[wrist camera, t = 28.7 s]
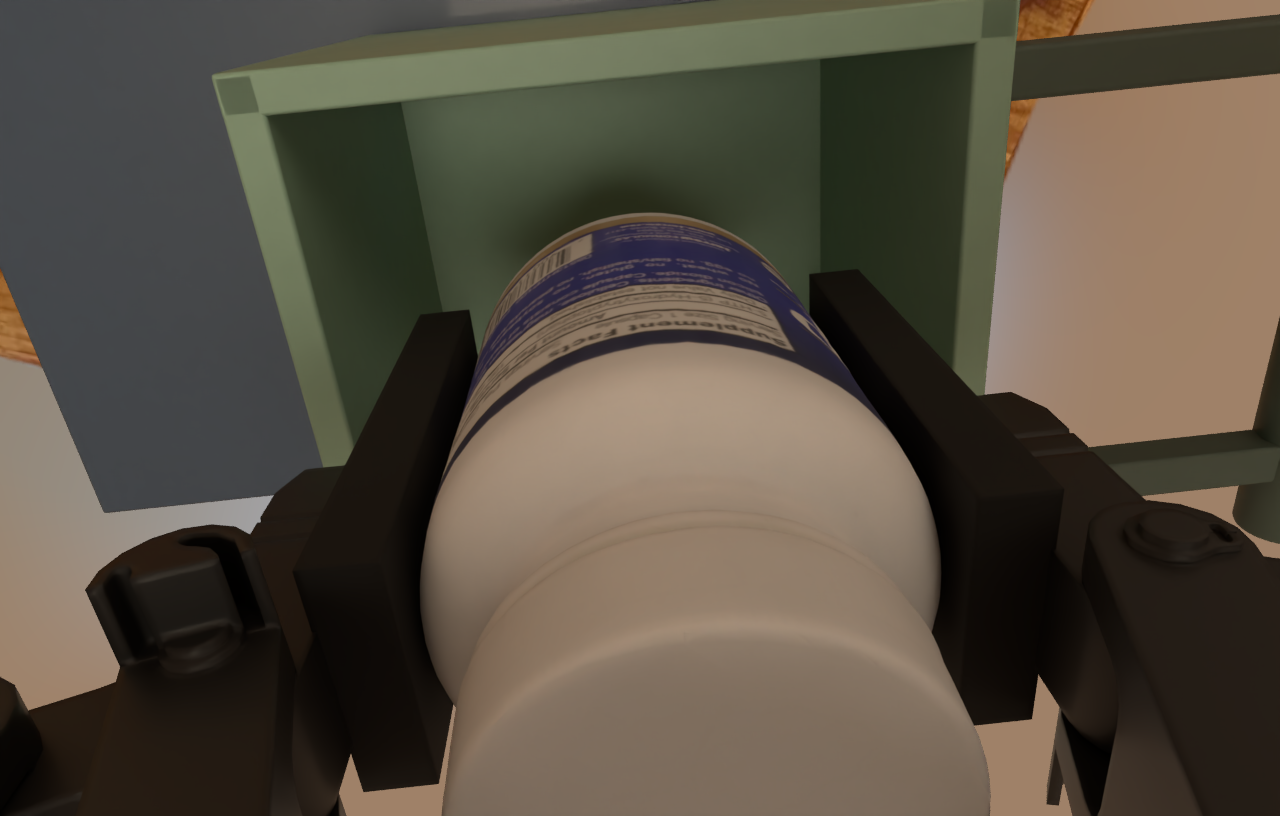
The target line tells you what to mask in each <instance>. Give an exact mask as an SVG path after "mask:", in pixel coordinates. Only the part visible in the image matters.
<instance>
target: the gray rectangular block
mask: <svg viewBox="0 0 1280 816" xmlns="http://www.w3.org/2000/svg"><path fill="white" fill-rule="evenodd" d="M702 1H711V0H0V269H1V271H2V273H3V276H4V278H5V280H6V283H7V285H8V287H9V290H10V292H11V295H12V297H13V299H14V302H15V304H16V306H17V309H18V311H19V313H20V316H21V318H22V320H23V323H24V325H25V328H26V330H27V332H28V335H29V337H30V339H31V342H32V344H33V346H34V349H35V351H36V354H37V356H38V358H39V361H40V363H41V365H42V368H43V370H44V372H45V375H46V377H47V379H48V382H49V384H50V386H51V389H52V391H53V394H54V396H55V398H56V401H57V403H58V405H59V408H60V410H61V412H62V415H63V417H64V419H65V422H66V424H67V427H68V429H69V431H70V434H71V436H72V438H73V441H74V443H75V445H76V448H77V450H78V453H79V455H80V457H81V460H82V462H83V464H84V467H85V469H86V472H87V474H88V476H89V479H90V481H91V483H92V486H93V488H94V490H95V493H96V495H97V497H98V500H99V502H100V505H101V507H102V509H103V511H104V512H105V513H110V512H120V511H129V510H137V509H146V508H147V509H148V508H157V507H167V506H176V505H185V504H195V503H204V502H214V501H223V500H232V499H242V498H251V497H261V496H270V495H275V493H276V492H277V491H278V490H280V489H281V488H282V487H283V486H285V485H286V484H287V483H289V482H290V481H291V480H292V479H294V478H295V477H296V476H297V475H299V474H300V473H301V472H303V471H304V470H305V469H314V468H323V464H322V461H321V457H320V454H319V450H318V447H317V443H316V440H315V436H314V433H313V429H312V426H311V422H310V419H309V415H308V412H307V408H306V405H305V401H304V398H303V394H302V391H301V387H300V384H299V380H298V377H297V373H296V370H295V366H294V363H293V359H292V356H291V352H290V349H289V345H288V342H287V338H286V335H285V331H284V328H283V324H282V321H281V317H280V314H279V310H278V307H277V303H276V300H275V297H274V293H273V290H272V286H271V283H270V279H269V276H268V272H267V269H266V265H265V262H264V258H263V255H262V251H261V248H260V244H259V241H258V237H257V234H256V230H255V227H254V223H253V220H252V216H251V213H250V209H249V206H248V202H247V199H246V195H245V192H244V188H243V185H242V181H241V178H240V174H239V171H238V167H237V164H236V160H235V157H234V153H233V150H232V146H231V143H230V139H229V136H228V132H227V129H226V125H225V122H224V118H223V116H222V113H221V109H220V106H219V102H218V99H217V95H216V92H215V88H214V85H213V81H212V75H213V74H215V73H219V72H223V71H227V70H231V69H235V68H239V67H243V66H247V65H251V64H255V63H259V62H263V61H267V60H271V59H275V58H279V57H283V56H287V55H291V54H295V53H299V52H303V51H307V50H311V49H315V48H319V47H323V46H327V45H331V44H335V43H339V42H343V41H347V40H351V39H355V38H359V37H363V36H367V35H375V34H385V33H395V32H405V31H415V30H425V29H435V28H444V27H454V26H464V25H474V24H484V23H494V22H504V21H514V20H524V19H533V18H543V17H553V16H563V15H573V14H583V13H593V12H603V11H613V10H622V9H632V8H642V7H652V6H662V5H672V4H682V3H692V2H702Z"/></svg>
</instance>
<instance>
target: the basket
mask: <svg viewBox="0 0 1280 816" xmlns="http://www.w3.org/2000/svg"><path fill="white" fill-rule="evenodd" d="M1019 9H1020V0H711V1H702V2H692V3H682V4H672V5H662V6H652V7H642V8H632V9H622V10H613V11H603V12H593V13H583V14H573V15H563V16H553V17H543V18H533V19H524V20H514V21H504V22H494V23H484V24H474V25H464V26H454V27H444V28H435V29H425V30H415V31H405V32H395V33H385V34H375V35H367V36H363V37H359V38H355V39H351V40H347V41H343V42H339V43H335V44H331V45H327V46H323V47H319V48H315V49H311V50H307V51H303V52H299V53H295V54H291V55H287V56H283V57H279V58H275V59H271V60H267V61H263V62H259V63H255V64H251V65H247V66H243V67H239V68H235V69H231V70H227V71H223V72H219V73H215V74H213V75H212V81H213V85H214V88H215V92H216V95H217V99H218V102H219V106H220V109H221V113H222V116H223V118H224V122H225V125H226V129H227V132H228V136H229V139H230V143H231V146H232V150H233V153H234V157H235V160H236V164H237V167H238V171H239V174H240V178H241V181H242V185H243V188H244V192H245V195H246V199H247V202H248V206H249V209H250V213H251V216H252V220H253V223H254V227H255V230H256V234H257V237H258V241H259V244H260V248H261V251H262V255H263V258H264V262H265V265H266V269H267V272H268V276H269V279H270V283H271V286H272V290H273V293H274V297H275V300H276V303H277V307H278V310H279V314H280V317H281V321H282V324H283V328H284V331H285V335H286V338H287V342H288V345H289V349H290V352H291V356H292V359H293V363H294V366H295V370H296V373H297V377H298V380H299V384H300V387H301V391H302V394H303V398H304V401H305V405H306V408H307V412H308V415H309V419H310V422H311V426H312V429H313V433H314V436H315V440H316V443H317V447H318V450H319V454H320V457H321V461H322V464H323V467H333V466H342V465H345V464H346V462H347V460H348V458H349V456H350V454H351V452H352V450H353V448H354V446H355V444H356V442H357V440H358V438H359V436H360V434H361V432H362V430H363V428H364V426H365V424H366V422H367V420H368V418H369V416H370V414H371V412H372V410H373V408H374V406H375V404H376V402H377V400H378V398H379V396H380V394H381V392H382V390H383V388H384V386H385V384H386V382H387V380H388V378H389V376H390V374H391V372H392V370H393V368H394V366H395V364H396V362H397V360H398V358H399V356H400V354H401V352H402V350H403V348H404V346H405V344H406V342H407V340H408V338H409V336H410V334H411V332H412V330H413V328H414V326H415V324H416V322H417V320H418V318H419V316H420V314H429V313H439V312H449V311H458V310H468V309H469V311H470V316H471V321H472V327H473V332H474V338H475V343H476V348H477V354H478V356H479V352H480V349H481V345H482V342H483V338H484V335H485V331H486V328H487V326H488V324H489V321H490V318H491V315H492V313H493V311H494V308H495V306H496V304H497V302H498V301H499V299H500V297H501V295H502V294H503V292H504V290H505V289H506V287H507V286H508V284H509V283H510V282H511V280H512V279H513V278H514V277H515V275H516V274H517V273H518V272H519V271H520V270H521V269H522V268H523V266H524V265H525V264H526V263H527V262H528V261H529V260H530V259H532V258H533V257H534V256H535V255H536V254H537V253H538V252H539V251H541V250H542V249H543V248H545V247H546V246H547V245H549V244H550V243H552V242H553V241H555V240H556V239H558V238H560V237H561V236H563V235H565V234H566V233H568V232H570V231H572V230H574V229H576V228H579V227H581V226H584V225H586V224H589V223H591V222H594V221H597V220H600V219H604V218H608V217H612V216H618V215H624V214H632V213H666V214H674V215H681V216H686V217H691V218H694V219H698V220H701V221H704V222H708V223H711V224H713V225H716V226H718V227H720V228H722V229H724V230H726V231H728V232H730V233H732V234H734V235H736V236H737V237H739V238H741V239H742V240H744V241H745V242H747V243H748V244H750V245H751V246H752V247H754V248H755V249H756V250H757V251H758V252H760V253H761V254H762V255H763V256H764V257H765V258H766V259H767V260H768V261H769V262H770V263H771V264H772V265H773V266H774V267H775V268H776V269H777V271H778V272H779V273H780V274H781V276H782V277H783V278H784V280H785V281H786V282H787V283H788V285H789V286H790V287H791V289H792V290H793V292H794V293H795V295H796V296H797V297H798V299H799V300H800V302H801V303H802V305H803V306H804V308H805V309H806V311H807V312H808V314H809V274H814V273H824V272H833V271H843V270H852V269H858V270H859V271H860V272H861V273H862V274H863V275H864V276H865V277H866V278H867V279H868V280H869V281H870V282H871V283H872V285H873V286H874V287H875V288H876V289H877V290H878V291H879V292H880V293H881V294H882V295H883V296H884V297H885V298H886V299H887V301H888V302H889V303H890V304H891V305H892V306H893V307H894V308H895V309H896V310H897V311H898V312H899V313H900V314H901V315H902V316H903V318H904V319H905V320H906V321H907V322H908V323H909V324H910V325H911V326H912V327H913V328H914V329H915V330H916V331H917V332H918V334H919V335H920V336H921V337H922V338H923V339H924V340H925V341H926V342H927V343H928V344H929V345H930V346H931V347H932V348H933V349H934V351H935V352H936V353H937V354H938V355H939V356H940V357H941V358H942V359H943V360H944V361H945V362H946V363H947V364H948V365H949V367H950V368H951V369H952V370H953V371H954V372H955V373H956V374H957V375H958V376H959V377H960V378H961V379H962V380H963V381H964V382H965V384H966V385H967V386H968V387H969V388H970V389H971V390H972V391H973V392H974V393H975V394H976V395H977V396H978V395H984V393H985V382H986V370H987V359H988V348H989V337H990V326H991V314H992V304H993V293H994V281H995V271H996V260H997V248H998V237H999V226H1000V215H1001V204H1002V193H1003V182H1004V171H1005V160H1006V149H1007V138H1008V127H1009V116H1010V104H1011V101H1017V100H1026V99H1036V98H1046V97H1055V96H1065V95H1074V94H1084V93H1094V92H1104V91H1113V90H1123V89H1133V88H1142V87H1152V86H1162V85H1172V84H1182V83H1191V82H1201V81H1211V80H1220V79H1230V78H1240V77H1248V76H1249V77H1250V76H1258V75H1269V74H1278V73H1280V14H1279V15H1270V16H1260V17H1250V18H1241V19H1231V20H1221V21H1211V22H1201V23H1192V24H1182V25H1172V26H1162V27H1154V28H1153V27H1152V28H1142V29H1133V30H1123V31H1113V32H1105V33H1094V34H1084V35H1074V36H1064V37H1054V38H1044V39H1035V40H1025V41H1016V38H1017V31H1018V20H1019ZM1088 451H1093V452H1094V453H1095V454H1097V455H1098V456H1099V457H1100V458H1101V459H1102V460H1103V461H1104V462H1105V463H1106V464H1107V465H1108V466H1109V467H1111V468H1112V469H1113V470H1114V471H1115V472H1116V473H1117V474H1118V475H1119V476H1120V477H1121V478H1122V479H1123V480H1125V481H1126V482H1127V483H1128V484H1129V485H1130V486H1131V487H1132V488H1133V489H1134V490H1135V491H1136V492H1137V493H1139V494H1140V495H1141V496H1146V495H1154V494H1164V493H1174V492H1183V491H1192V490H1201V489H1210V488H1220V487H1229V486H1238V485H1239V487H1238V491H1237V495H1236V499H1235V504H1234V507H1233V517H1234V520H1235V522H1236V523H1237V524H1238V525H1239V526H1240V527H1241V528H1242V529H1244V530H1245V531H1247V532H1248V533H1250V534H1252V535H1254V536H1256V537H1258V538H1261V539H1264V540H1267V541H1270V542H1274V543H1278V544H1280V318H1279V322H1278V326H1277V331H1276V335H1275V339H1274V343H1273V347H1272V351H1271V355H1270V359H1269V363H1268V368H1267V372H1266V376H1265V380H1264V384H1263V388H1262V392H1261V397H1260V400H1259V405H1258V409H1257V413H1256V417H1255V421H1254V426H1253V429H1252V430H1245V431H1236V432H1227V433H1218V434H1208V435H1199V436H1190V437H1181V438H1171V439H1162V440H1153V441H1143V442H1134V443H1125V444H1115V445H1106V446H1097V447H1088Z"/></svg>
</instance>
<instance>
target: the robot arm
mask: <svg viewBox="0 0 1280 816" xmlns="http://www.w3.org/2000/svg"><path fill="white" fill-rule="evenodd" d="M809 315H810V316H811V318H812V319H813V321H814V322H815V323H816V325H817V326H818V327H819V329H820V330H821V331H822V333H823V334H824V335H825V337H826V338H827V340H828V341H829V343H830V344H831V346H832V348H833V349H834V350H835V351H836V352H837V354H838V356H839V357H840V359H841V360H842V362H843V363H844V364H845V366H846V367H847V368H848V370H849V371H850V373H851V375H852V377H853V378H854V380H855V381H856V383H857V384H858V386H859V387H860V389H861V390H862V391H863V393H864V394H865V396H866V397H867V399H868V400H869V402H870V403H871V404H872V406H873V407H874V408H875V410H876V411H877V413H878V414H879V415H880V417H881V418H882V419H883V421H884V422H885V424H886V425H887V427H888V428H889V430H890V431H891V433H892V434H893V436H894V437H895V439H896V440H897V442H898V443H899V445H900V447H901V448H902V450H903V452H904V453H905V455H906V457H907V458H908V460H909V462H910V464H911V465H912V467H913V469H914V471H915V473H916V475H917V476H918V478H919V480H920V482H921V484H922V486H923V488H924V491H925V493H926V495H927V497H928V500H929V503H930V507H931V510H932V513H933V516H934V520H935V524H936V529H937V533H938V538H939V546H940V553H941V589H940V600H939V605H938V610H937V614H936V618H935V621H934V625H933V629H932V632H931V633H932V635H933V637H934V639H935V641H936V643H937V645H938V648H939V650H940V653H941V656H942V659H943V662H944V664H945V666H946V668H947V670H948V672H949V674H950V676H951V678H952V680H953V682H954V684H955V686H956V689H957V691H958V693H959V695H960V697H961V699H962V701H963V703H964V706H965V708H966V710H967V712H968V714H969V716H970V718H971V721H972V723H973V725H983V724H993V723H1001V722H1010V721H1020V720H1029V719H1032V715H1033V708H1034V701H1035V694H1036V687H1037V680H1038V674H1039V676H1040V677H1041V679H1042V681H1043V682H1044V683H1045V685H1046V687H1047V688H1048V690H1049V691H1050V693H1051V694H1052V696H1053V697H1054V699H1055V700H1056V702H1057V704H1058V705H1059V707H1060V708H1059V714H1058V721H1057V727H1056V733H1055V740H1054V746H1053V752H1052V759H1051V764H1050V771H1049V777H1048V783H1047V804H1049V805H1059V801H1060V795H1061V789H1062V785H1063V784H1065V788H1066V791H1067V795H1068V800H1069V803H1070V807H1071V811H1072V815H1073V816H1280V559H1279V558H1271V557H1264V556H1263V555H1262V554H1261V552H1260V551H1259V549H1258V548H1257V546H1256V545H1255V544H1254V543H1253V542H1252V541H1251V540H1250V539H1249V538H1248V537H1247V536H1246V535H1245V534H1244V533H1243V532H1242V531H1241V530H1240V529H1238V527H1236V526H1234V525H1232V524H1230V523H1228V522H1226V521H1224V520H1222V519H1221V518H1219V517H1217V516H1215V515H1213V514H1211V513H1208V512H1204V511H1201V510H1198V509H1194V508H1191V507H1188V506H1184V505H1181V504H1174V503H1166V502H1158V501H1150V500H1147V501H1146V500H1145V499H1144V498H1143V497H1142V496H1141V495H1140V494H1139V493H1137V492H1136V491H1135V490H1134V489H1133V488H1132V487H1131V486H1130V485H1129V484H1128V483H1127V482H1126V481H1125V480H1123V479H1122V478H1121V477H1120V476H1119V475H1118V474H1117V473H1116V472H1115V471H1114V470H1113V469H1112V468H1111V467H1109V466H1108V465H1107V464H1106V463H1105V462H1104V461H1103V460H1102V459H1101V458H1100V457H1099V456H1098V455H1097V454H1095V453H1094V452H1093V451H1088V446H1087V445H1085V443H1084V442H1083V441H1081V440H1080V439H1079V438H1078V437H1077V436H1076V435H1075V434H1074V433H1069V429H1068V428H1067V427H1066V426H1065V425H1064V424H1063V423H1062V422H1061V421H1060V420H1059V419H1058V418H1057V417H1056V416H1054V415H1053V414H1052V413H1051V412H1050V411H1049V410H1048V409H1047V408H1045V407H1043V406H1041V405H1039V404H1037V403H1034V402H1032V401H1030V400H1028V399H1025V398H1023V397H1021V396H1019V395H1017V394H1014V393H1012V392H1007V393H998V394H987V395H978V396H977V395H976V394H975V393H974V392H973V391H972V390H971V389H970V388H969V387H968V386H967V385H966V384H965V382H964V381H963V380H962V379H961V378H960V377H959V376H958V375H957V374H956V373H955V372H954V371H953V370H952V369H951V368H950V367H949V365H948V364H947V363H946V362H945V361H944V360H943V359H942V358H941V357H940V356H939V355H938V354H937V353H936V352H935V351H934V349H933V348H932V347H931V346H930V345H929V344H928V343H927V342H926V341H925V340H924V339H923V338H922V337H921V336H920V335H919V334H918V332H917V331H916V330H915V329H914V328H913V327H912V326H911V325H910V324H909V323H908V322H907V321H906V320H905V319H904V318H903V316H902V315H901V314H900V313H899V312H898V311H897V310H896V309H895V308H894V307H893V306H892V305H891V304H890V303H889V302H888V301H887V299H886V298H885V297H884V296H883V295H882V294H881V293H880V292H879V291H878V290H877V289H876V288H875V287H874V286H873V285H872V283H871V282H870V281H869V280H868V279H867V278H866V277H865V276H864V275H863V274H862V273H861V272H860V271H859V270H858V269H852V270H843V271H833V272H824V273H814V274H809ZM477 360H478V354H477V348H476V343H475V338H474V332H473V327H472V321H471V316H470V311H469V309H468V310H458V311H449V312H439V313H429V314H420V316H419V318H418V320H417V322H416V324H415V326H414V328H413V330H412V332H411V334H410V336H409V338H408V340H407V342H406V344H405V346H404V348H403V350H402V352H401V354H400V356H399V358H398V360H397V362H396V364H395V366H394V368H393V370H392V372H391V374H390V376H389V378H388V380H387V382H386V384H385V386H384V388H383V390H382V392H381V394H380V396H379V398H378V400H377V402H376V404H375V406H374V408H373V410H372V412H371V414H370V416H369V418H368V420H367V422H366V424H365V426H364V428H363V430H362V432H361V434H360V436H359V438H358V440H357V442H356V444H355V446H354V448H353V450H352V452H351V454H350V456H349V458H348V460H347V462H346V464H345V465H342V466H333V467H323V468H314V469H305V470H304V471H303V472H301V473H300V474H299V475H297V476H296V477H295V478H294V479H292V480H291V481H290V482H289V483H287V484H286V485H285V486H283V487H282V488H281V489H280V490H278V491H277V492H276V493H275V495H274V496H273V498H272V499H271V501H270V503H269V505H268V506H267V508H266V509H265V511H264V513H263V514H262V516H261V522H260V523H257V524H256V526H255V527H254V529H253V531H252V533H251V534H248V533H246V532H244V531H242V530H241V529H239V528H237V527H234V526H223V525H222V526H221V525H205V526H198V527H191V528H183V529H180V530H177V531H174V532H171V533H167V534H164V535H161V536H158V537H155V538H152V539H150V540H148V541H145V542H143V543H142V544H140V545H138V546H136V547H134V548H132V549H130V550H128V551H126V552H124V553H122V554H121V555H119V556H118V557H117V558H115V559H114V560H113V561H111V562H110V563H109V564H107V565H106V566H105V567H103V568H102V569H101V570H100V571H98V573H97V574H96V576H95V577H94V578H93V580H92V581H91V583H90V584H89V585H88V587H87V588H86V589H85V591H86V593H87V595H88V597H89V600H90V602H91V604H92V606H93V608H94V610H95V613H96V615H97V617H98V619H99V621H100V624H101V626H102V628H103V630H104V632H105V635H106V637H107V639H108V641H109V643H110V646H111V648H112V650H113V652H114V654H115V657H116V659H117V661H118V663H119V665H120V670H119V673H118V676H117V680H116V682H115V683H112V684H109V685H107V686H104V687H101V688H99V689H96V690H92V691H89V692H86V693H83V694H80V695H76V696H73V697H70V698H67V699H64V700H61V701H57V702H54V703H51V704H48V705H45V706H41V707H38V708H35V709H32V710H29V711H28V709H27V708H26V706H25V704H24V702H23V700H22V698H21V696H20V694H19V692H18V691H17V689H16V687H15V685H14V684H12V683H10V682H8V681H6V680H5V679H3V678H1V677H0V816H346V813H345V810H344V807H343V804H342V801H341V798H340V795H339V790H340V787H341V783H342V780H343V777H344V773H345V770H346V767H347V763H348V760H349V757H350V754H352V758H353V761H354V764H355V767H356V770H357V773H358V776H359V780H360V783H361V786H362V789H363V792H369V791H377V790H386V789H396V788H404V787H414V786H423V785H433V784H439V779H440V774H441V768H442V762H443V758H444V752H445V747H446V741H447V736H448V731H449V725H450V719H451V714H452V709H453V702H452V701H451V699H450V698H449V696H448V694H447V693H446V691H445V689H444V687H443V686H442V684H441V682H440V680H439V679H438V677H437V675H436V672H435V669H434V667H433V664H432V661H431V658H430V655H429V652H428V649H427V646H426V642H425V637H424V631H423V625H422V619H421V613H420V576H421V564H422V558H423V552H424V546H425V540H426V534H427V529H428V525H429V521H430V517H431V513H432V509H433V504H434V500H435V497H436V494H437V492H438V488H439V484H440V482H441V479H442V476H443V473H444V470H445V467H446V464H447V461H448V457H449V454H450V451H451V448H452V444H453V441H454V438H455V436H456V433H457V429H458V426H459V423H460V420H461V416H462V413H463V410H464V406H465V403H466V399H467V396H468V392H469V389H470V385H471V382H472V378H473V375H474V371H475V367H476V364H477Z"/></svg>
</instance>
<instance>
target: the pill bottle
mask: <svg viewBox="0 0 1280 816" xmlns="http://www.w3.org/2000/svg"><path fill="white" fill-rule="evenodd" d="M940 589H941V553H940V546H939V538H938V533H937V529H936V524H935V520H934V516H933V513H932V510H931V507H930V503H929V500H928V497H927V495H926V493H925V491H924V488H923V486H922V484H921V482H920V480H919V478H918V476H917V475H916V473H915V471H914V469H913V467H912V465H911V464H910V462H909V460H908V458H907V457H906V455H905V453H904V452H903V450H902V448H901V447H900V445H899V443H898V442H897V440H896V439H895V437H894V436H893V434H892V433H891V431H890V430H889V428H888V427H887V425H886V424H885V422H884V421H883V419H882V418H881V417H880V415H879V414H878V413H877V411H876V410H875V408H874V407H873V406H872V404H871V403H870V402H869V400H868V399H867V397H866V396H865V394H864V393H863V391H862V390H861V389H860V387H859V386H858V384H857V383H856V381H855V380H854V378H853V377H852V375H851V373H850V371H849V370H848V368H847V367H846V366H845V364H844V363H843V362H842V360H841V359H840V357H839V356H838V354H837V352H836V351H835V350H834V349H833V348H832V346H831V344H830V343H829V341H828V340H827V338H826V337H825V335H824V334H823V333H822V331H821V330H820V329H819V327H818V326H817V325H816V323H815V322H814V321H813V319H812V318H811V316H810V315H809V314H808V312H807V311H806V309H805V308H804V306H803V305H802V303H801V302H800V300H799V299H798V297H797V296H796V295H795V293H794V292H793V290H792V289H791V287H790V286H789V285H788V283H787V282H786V281H785V280H784V278H783V277H782V276H781V274H780V273H779V272H778V271H777V269H776V268H775V267H774V266H773V265H772V264H771V263H770V262H769V261H768V260H767V259H766V258H765V257H764V256H763V255H762V254H761V253H760V252H758V251H757V250H756V249H755V248H754V247H752V246H751V245H750V244H748V243H747V242H745V241H744V240H742V239H741V238H739V237H737V236H736V235H734V234H732V233H730V232H728V231H726V230H724V229H722V228H720V227H718V226H716V225H713V224H711V223H708V222H704V221H701V220H698V219H694V218H691V217H686V216H681V215H674V214H666V213H632V214H624V215H618V216H612V217H608V218H604V219H600V220H597V221H594V222H591V223H589V224H586V225H584V226H581V227H579V228H576V229H574V230H572V231H570V232H568V233H566V234H565V235H563V236H561V237H560V238H558V239H556V240H555V241H553V242H552V243H550V244H549V245H547V246H546V247H545V248H543V249H542V250H541V251H539V252H538V253H537V254H536V255H535V256H534V257H533V258H532V259H530V260H529V261H528V262H527V263H526V264H525V265H524V266H523V268H522V269H521V270H520V271H519V272H518V273H517V274H516V275H515V277H514V278H513V279H512V280H511V282H510V283H509V284H508V286H507V287H506V289H505V290H504V292H503V294H502V295H501V297H500V299H499V301H498V302H497V304H496V306H495V308H494V311H493V313H492V315H491V318H490V321H489V324H488V326H487V328H486V331H485V335H484V338H483V342H482V345H481V349H480V352H479V356H478V360H477V364H476V367H475V371H474V375H473V378H472V382H471V385H470V389H469V392H468V396H467V399H466V403H465V406H464V410H463V413H462V416H461V420H460V423H459V426H458V429H457V433H456V436H455V438H454V441H453V444H452V448H451V451H450V454H449V457H448V461H447V464H446V467H445V470H444V473H443V476H442V479H441V482H440V484H439V488H438V492H437V494H436V497H435V500H434V504H433V509H432V513H431V517H430V521H429V525H428V529H427V534H426V540H425V546H424V552H423V558H422V564H421V576H420V613H421V619H422V625H423V631H424V637H425V642H426V646H427V649H428V652H429V655H430V658H431V661H432V664H433V667H434V669H435V672H436V675H437V677H438V679H439V680H440V682H441V684H442V686H443V687H444V689H445V691H446V693H447V694H448V696H449V698H450V699H451V701H452V702H453V704H454V706H455V707H456V713H455V719H454V726H453V733H452V740H451V746H450V753H449V761H448V768H447V777H446V784H445V791H444V796H443V807H442V816H990V797H991V796H990V783H989V773H988V767H987V762H986V758H985V755H984V751H983V748H982V745H981V742H980V739H979V736H978V734H977V731H976V729H975V727H974V725H973V723H972V721H971V718H970V716H969V714H968V712H967V710H966V708H965V706H964V703H963V701H962V699H961V697H960V695H959V693H958V691H957V689H956V686H955V684H954V682H953V680H952V678H951V676H950V674H949V672H948V670H947V668H946V666H945V664H944V662H943V659H942V656H941V653H940V650H939V648H938V645H937V643H936V641H935V639H934V637H933V635H932V633H931V632H932V629H933V625H934V621H935V618H936V614H937V610H938V605H939V600H940Z"/></svg>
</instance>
